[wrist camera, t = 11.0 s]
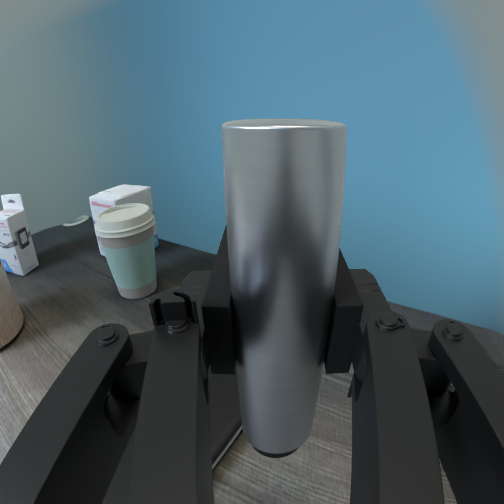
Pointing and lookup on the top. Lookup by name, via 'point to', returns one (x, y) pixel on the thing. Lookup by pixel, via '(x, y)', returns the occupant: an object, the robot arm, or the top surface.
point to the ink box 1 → (16, 237)
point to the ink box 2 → (121, 203)
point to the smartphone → (222, 431)
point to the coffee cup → (129, 247)
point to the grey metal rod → (282, 268)
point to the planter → (8, 311)
